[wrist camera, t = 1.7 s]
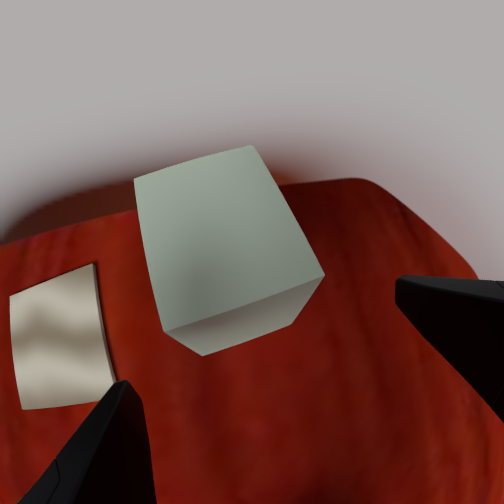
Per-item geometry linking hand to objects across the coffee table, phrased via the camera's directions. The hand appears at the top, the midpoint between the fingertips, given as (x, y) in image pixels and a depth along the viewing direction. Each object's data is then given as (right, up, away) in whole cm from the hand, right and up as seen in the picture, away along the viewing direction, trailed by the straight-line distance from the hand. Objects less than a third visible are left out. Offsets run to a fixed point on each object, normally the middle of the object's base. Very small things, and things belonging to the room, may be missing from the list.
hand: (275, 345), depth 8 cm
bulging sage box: (-3, 0, +14) cm, 14 cm away
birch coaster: (-19, -6, +11) cm, 23 cm away
